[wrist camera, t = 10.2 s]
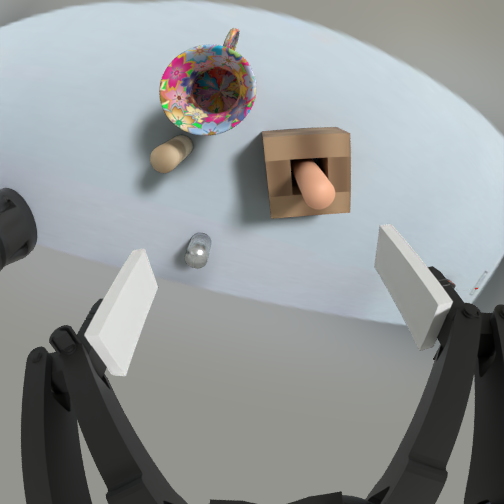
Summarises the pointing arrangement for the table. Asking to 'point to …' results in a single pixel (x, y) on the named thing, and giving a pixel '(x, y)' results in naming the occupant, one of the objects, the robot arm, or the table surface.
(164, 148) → the medium pin
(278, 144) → the block
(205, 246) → the short pin
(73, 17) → the table surface
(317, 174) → the long pin
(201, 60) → the mug
